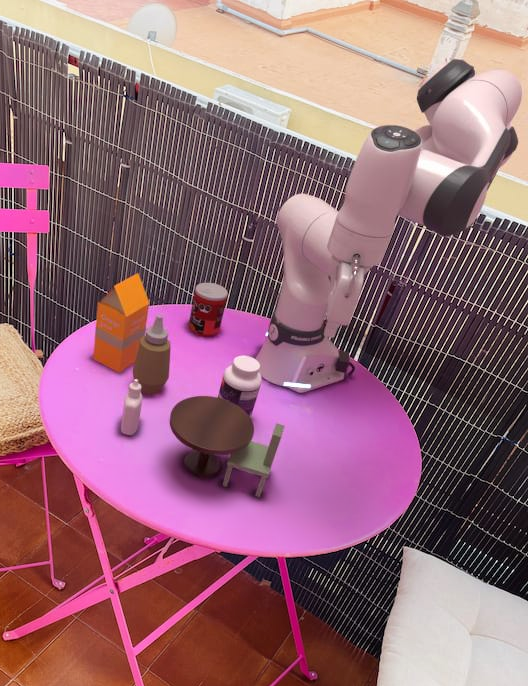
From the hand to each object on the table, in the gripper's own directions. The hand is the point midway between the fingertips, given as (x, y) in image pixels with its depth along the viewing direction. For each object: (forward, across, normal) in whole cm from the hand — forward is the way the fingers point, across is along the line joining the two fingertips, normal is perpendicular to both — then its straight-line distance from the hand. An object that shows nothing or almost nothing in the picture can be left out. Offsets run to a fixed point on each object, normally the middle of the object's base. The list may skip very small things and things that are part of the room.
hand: (330, 321), depth 115 cm
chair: (+34, -5, +6) cm, 35 cm away
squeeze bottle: (+35, +16, +31) cm, 49 cm away
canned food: (+34, +46, +24) cm, 62 cm away
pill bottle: (+35, +13, +12) cm, 39 cm away
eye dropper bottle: (+35, +1, +31) cm, 47 cm away
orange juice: (+35, +24, +40) cm, 58 cm away
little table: (+34, -5, +15) cm, 38 cm away
